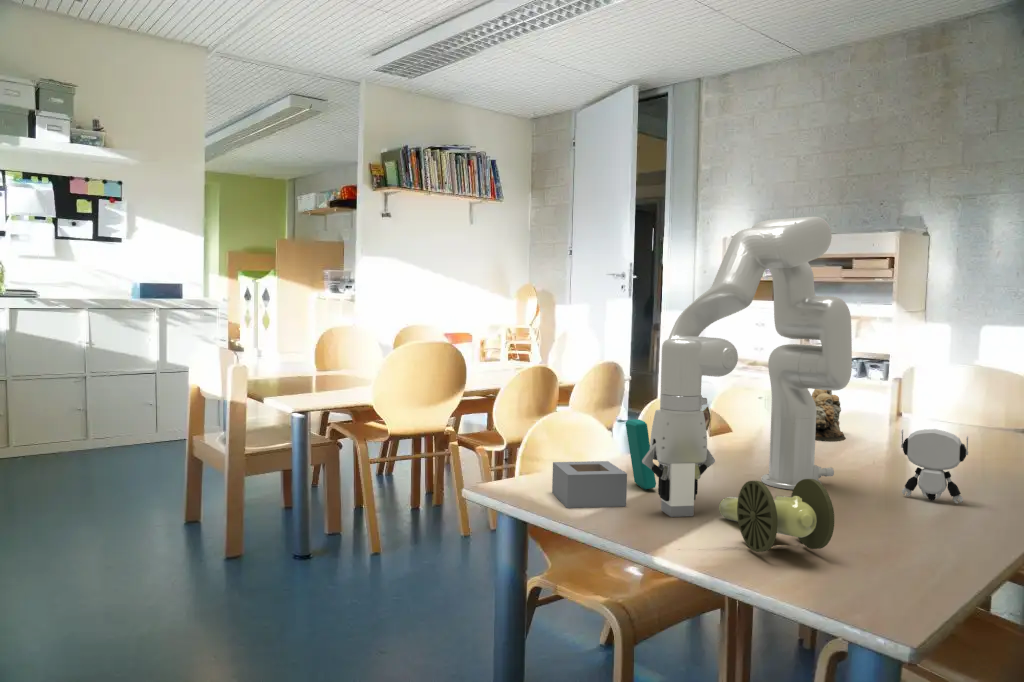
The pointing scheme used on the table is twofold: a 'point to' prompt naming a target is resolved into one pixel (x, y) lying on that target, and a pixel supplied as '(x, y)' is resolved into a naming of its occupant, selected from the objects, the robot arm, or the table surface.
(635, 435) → the digital multimeter
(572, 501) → the socket
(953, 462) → the robot toy
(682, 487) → the plug
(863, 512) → the table surface
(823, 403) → the brown rough lump
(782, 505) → the cannon
